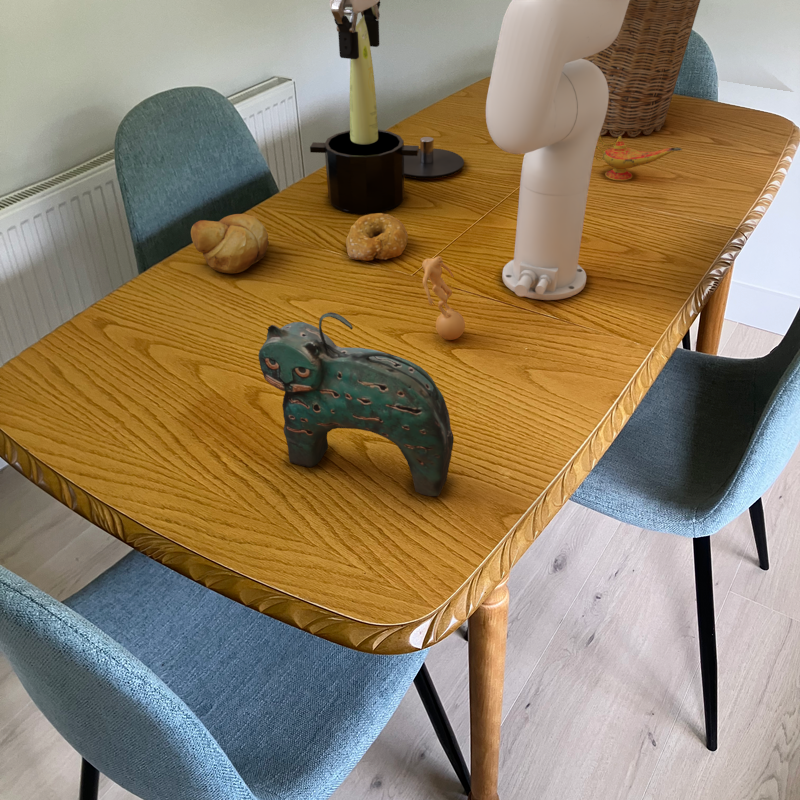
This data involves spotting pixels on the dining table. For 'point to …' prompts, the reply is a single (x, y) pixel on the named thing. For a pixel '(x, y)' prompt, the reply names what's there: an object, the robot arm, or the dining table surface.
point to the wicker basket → (645, 64)
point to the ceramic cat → (356, 399)
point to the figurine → (450, 320)
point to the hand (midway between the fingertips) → (360, 51)
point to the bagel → (376, 237)
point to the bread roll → (231, 242)
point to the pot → (365, 172)
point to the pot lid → (432, 162)
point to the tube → (363, 92)
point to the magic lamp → (628, 158)
